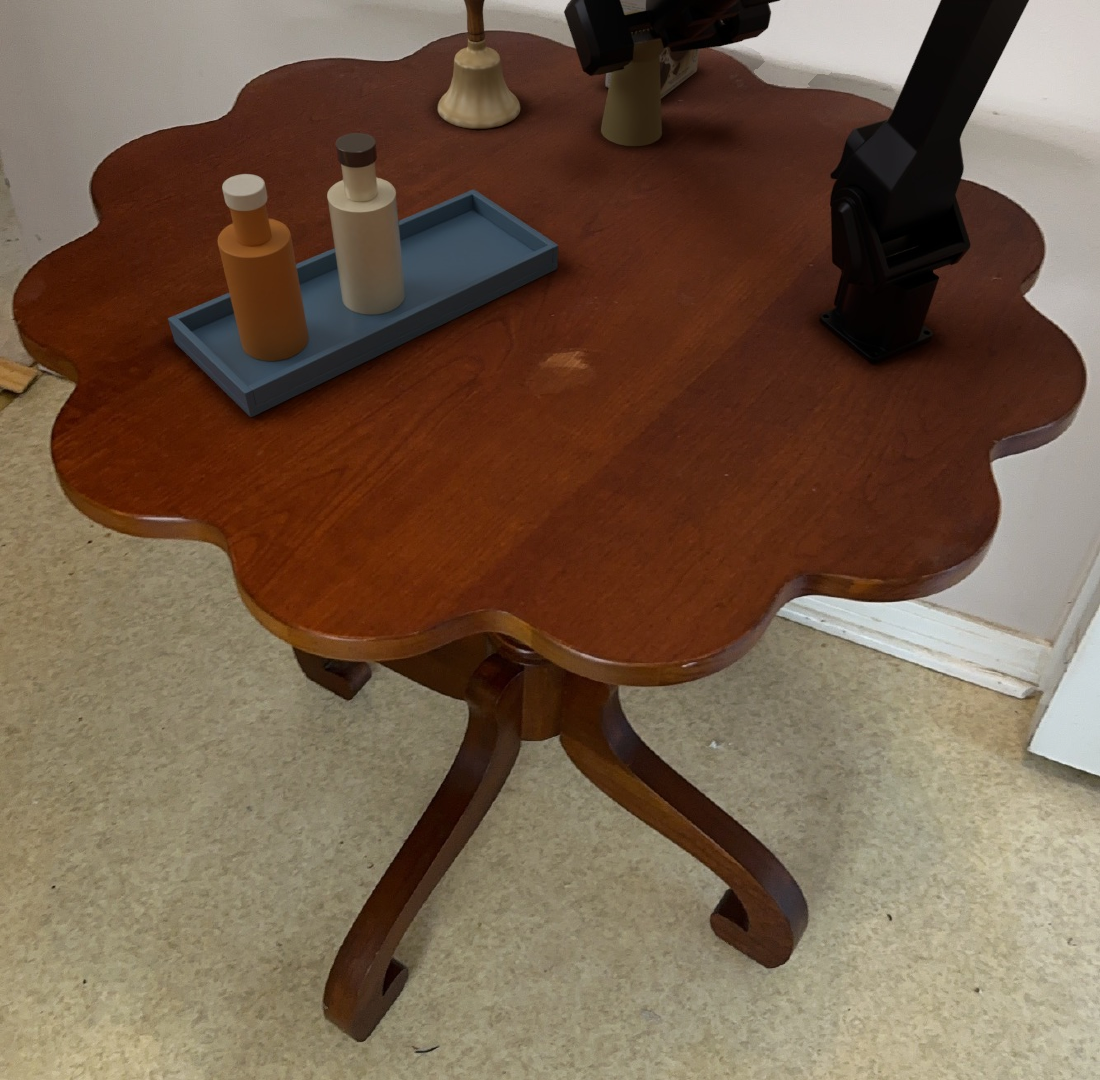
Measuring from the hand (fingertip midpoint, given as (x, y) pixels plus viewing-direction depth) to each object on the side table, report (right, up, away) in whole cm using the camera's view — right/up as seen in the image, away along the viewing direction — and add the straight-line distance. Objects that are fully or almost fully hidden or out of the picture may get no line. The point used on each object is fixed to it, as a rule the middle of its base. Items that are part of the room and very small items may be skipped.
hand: (629, 56), depth 103 cm
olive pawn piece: (0, -6, +4) cm, 7 cm away
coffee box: (+3, +3, +12) cm, 13 cm away
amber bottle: (-28, -30, -20) cm, 46 cm away
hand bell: (-15, -3, +7) cm, 16 cm away
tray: (-22, -27, -15) cm, 38 cm away
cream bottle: (-21, -26, -16) cm, 38 cm away
